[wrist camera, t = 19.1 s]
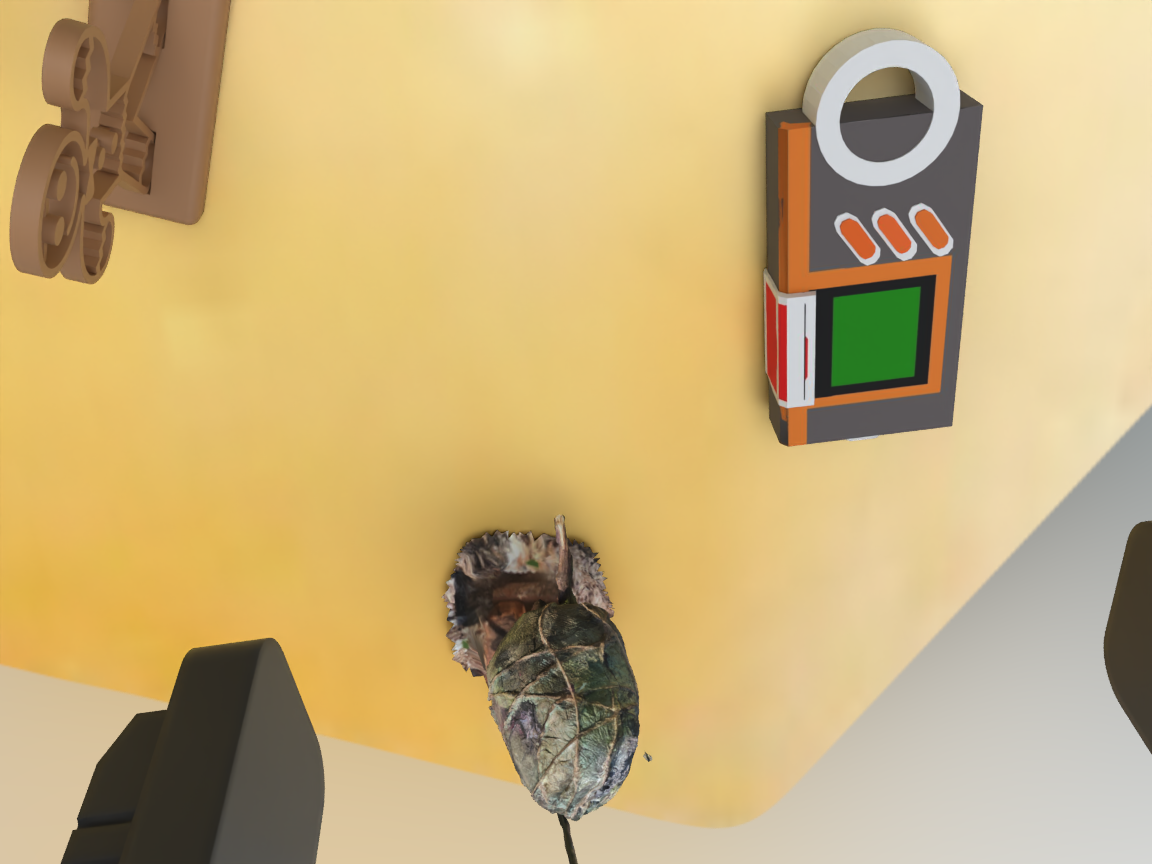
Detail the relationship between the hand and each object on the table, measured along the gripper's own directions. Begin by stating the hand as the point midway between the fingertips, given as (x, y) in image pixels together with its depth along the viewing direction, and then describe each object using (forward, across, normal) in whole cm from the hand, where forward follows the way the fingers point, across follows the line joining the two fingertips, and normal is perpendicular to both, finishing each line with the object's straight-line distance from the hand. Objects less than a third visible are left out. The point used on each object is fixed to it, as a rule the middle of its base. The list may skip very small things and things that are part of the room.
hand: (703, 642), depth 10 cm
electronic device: (+28, -10, +10) cm, 32 cm away
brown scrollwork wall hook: (+28, +13, +1) cm, 31 cm away
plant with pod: (+28, +4, +25) cm, 38 cm away
